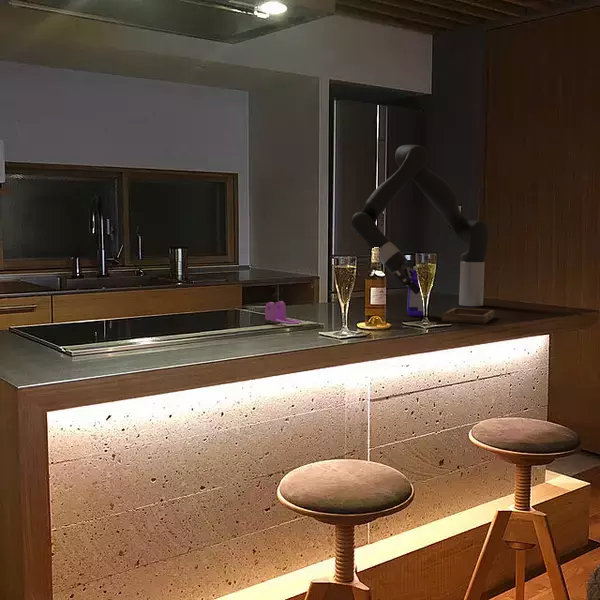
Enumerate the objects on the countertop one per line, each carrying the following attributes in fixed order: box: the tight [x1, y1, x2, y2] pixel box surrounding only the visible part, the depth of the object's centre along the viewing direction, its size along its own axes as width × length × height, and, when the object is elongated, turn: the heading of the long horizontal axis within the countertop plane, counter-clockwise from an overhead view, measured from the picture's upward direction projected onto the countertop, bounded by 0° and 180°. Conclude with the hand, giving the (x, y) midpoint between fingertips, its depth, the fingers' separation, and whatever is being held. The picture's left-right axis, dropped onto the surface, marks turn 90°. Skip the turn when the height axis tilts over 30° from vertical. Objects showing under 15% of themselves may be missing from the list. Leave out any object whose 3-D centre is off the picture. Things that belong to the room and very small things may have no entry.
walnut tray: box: [441, 307, 495, 325], centre depth 267 cm, size 18×14×2 cm
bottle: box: [406, 265, 423, 317], centre depth 273 cm, size 7×6×17 cm
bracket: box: [264, 300, 303, 324], centre depth 250 cm, size 13×6×7 cm, turn 43°
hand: (421, 291), depth 273 cm, fingers open, 8 cm apart
